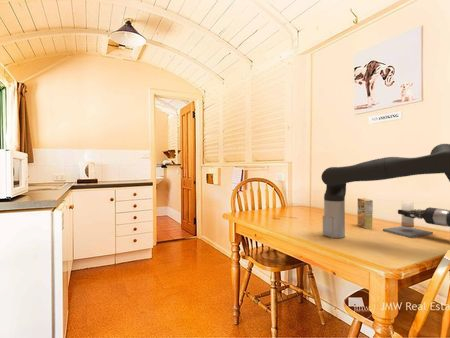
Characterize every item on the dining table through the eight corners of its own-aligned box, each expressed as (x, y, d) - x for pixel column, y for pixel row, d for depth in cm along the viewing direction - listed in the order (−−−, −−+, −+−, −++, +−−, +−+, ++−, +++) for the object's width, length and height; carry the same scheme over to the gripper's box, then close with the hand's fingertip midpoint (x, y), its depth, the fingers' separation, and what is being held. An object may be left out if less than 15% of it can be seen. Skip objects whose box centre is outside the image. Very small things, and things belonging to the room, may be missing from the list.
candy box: (356, 225, 149) (356, 198, 149) (364, 225, 149) (364, 197, 149) (365, 228, 141) (365, 200, 140) (373, 228, 141) (373, 200, 140)
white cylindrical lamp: (409, 227, 129) (409, 203, 129) (398, 225, 134) (398, 201, 134) (416, 226, 131) (416, 202, 131) (406, 224, 136) (405, 201, 135)
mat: (410, 237, 123) (410, 235, 123) (382, 230, 136) (382, 228, 136) (432, 234, 129) (432, 232, 129) (404, 227, 142) (404, 225, 142)
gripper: (449, 207, 121) (411, 202, 137) (428, 209, 116) (392, 204, 132) (449, 223, 121) (411, 217, 137) (429, 226, 116) (392, 219, 132)
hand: (402, 211), depth 135 cm, fingers closed on white cylindrical lamp, 5 cm apart
